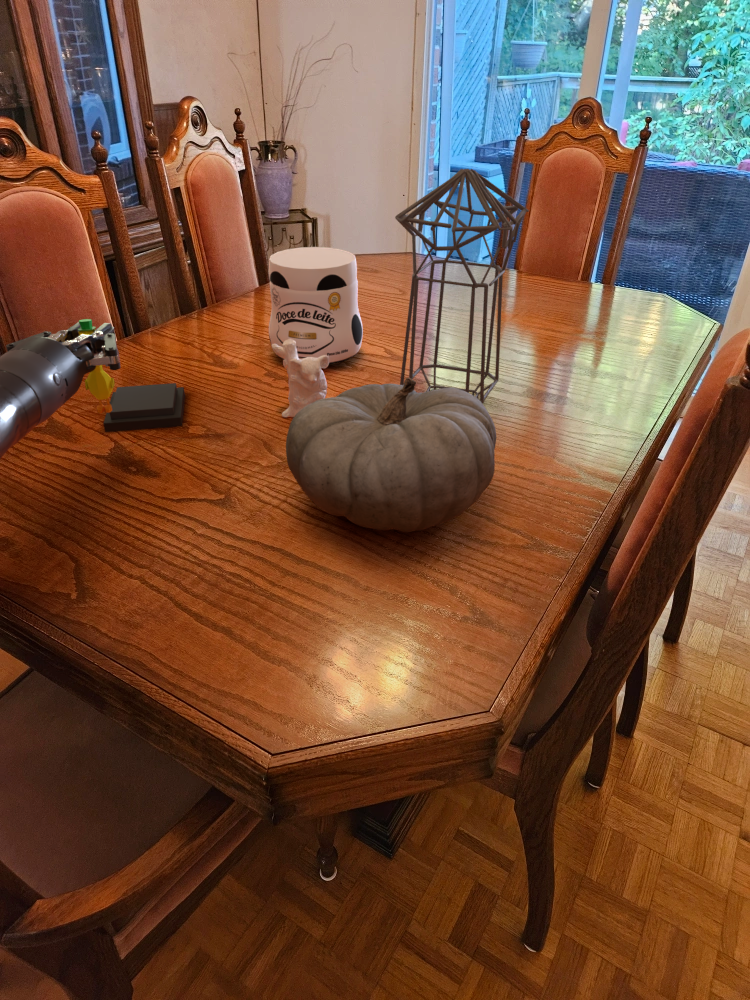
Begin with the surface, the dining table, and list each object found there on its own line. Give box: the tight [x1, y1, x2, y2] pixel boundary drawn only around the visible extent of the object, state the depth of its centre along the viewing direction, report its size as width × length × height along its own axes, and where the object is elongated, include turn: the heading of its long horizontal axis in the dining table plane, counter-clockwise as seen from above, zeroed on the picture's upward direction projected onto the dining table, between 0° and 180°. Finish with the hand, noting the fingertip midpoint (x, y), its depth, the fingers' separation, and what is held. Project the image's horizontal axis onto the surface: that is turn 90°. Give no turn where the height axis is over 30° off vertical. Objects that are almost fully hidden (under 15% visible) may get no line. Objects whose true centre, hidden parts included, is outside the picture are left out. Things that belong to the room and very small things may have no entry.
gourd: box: [285, 377, 497, 533], centre depth 80 cm, size 25×25×17 cm
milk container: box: [268, 246, 364, 366], centre depth 120 cm, size 17×17×18 cm
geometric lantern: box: [394, 168, 530, 404], centre depth 97 cm, size 16×16×35 cm
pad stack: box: [102, 382, 186, 433], centre depth 103 cm, size 11×11×4 cm
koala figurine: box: [271, 339, 330, 418], centre depth 102 cm, size 8×7×12 cm
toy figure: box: [78, 318, 116, 414], centre depth 85 cm, size 7×4×12 cm, turn 10°
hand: (97, 330), depth 85 cm, fingers closed on toy figure, 3 cm apart
